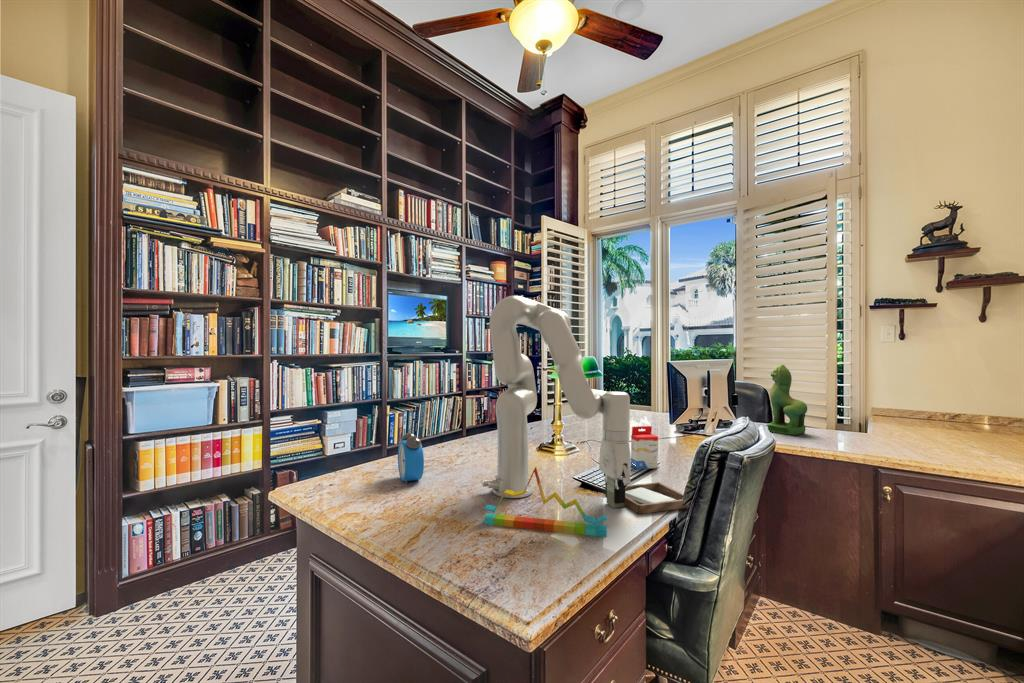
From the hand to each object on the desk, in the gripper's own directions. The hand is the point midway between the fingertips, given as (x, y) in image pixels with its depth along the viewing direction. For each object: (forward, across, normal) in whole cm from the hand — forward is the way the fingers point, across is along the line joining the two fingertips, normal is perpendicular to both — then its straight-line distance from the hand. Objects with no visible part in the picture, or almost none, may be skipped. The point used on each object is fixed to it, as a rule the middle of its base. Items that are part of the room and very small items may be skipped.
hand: (615, 499), depth 128 cm
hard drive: (+2, 0, +12) cm, 12 cm away
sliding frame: (+2, 0, +9) cm, 10 cm away
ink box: (+2, -31, +31) cm, 44 cm away
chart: (+2, +8, -25) cm, 26 cm away
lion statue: (+2, -64, +138) cm, 152 cm away
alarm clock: (+2, -39, -53) cm, 66 cm away
